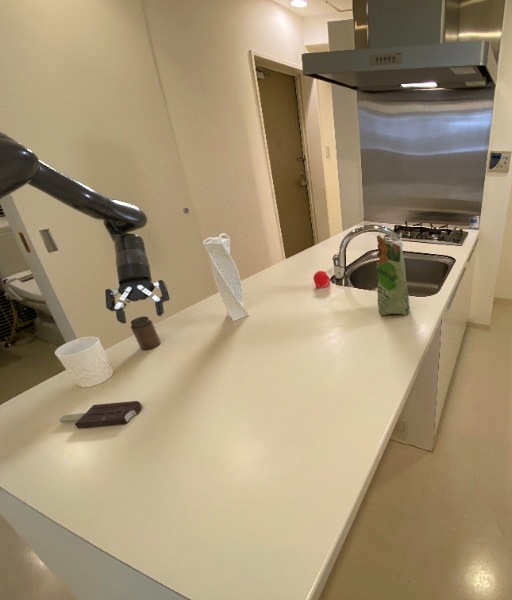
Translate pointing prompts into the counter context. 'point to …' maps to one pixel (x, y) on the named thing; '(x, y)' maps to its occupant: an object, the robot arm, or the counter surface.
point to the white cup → (85, 361)
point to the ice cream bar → (105, 415)
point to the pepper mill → (145, 333)
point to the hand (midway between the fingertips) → (141, 318)
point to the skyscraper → (226, 276)
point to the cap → (321, 280)
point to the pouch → (391, 279)
